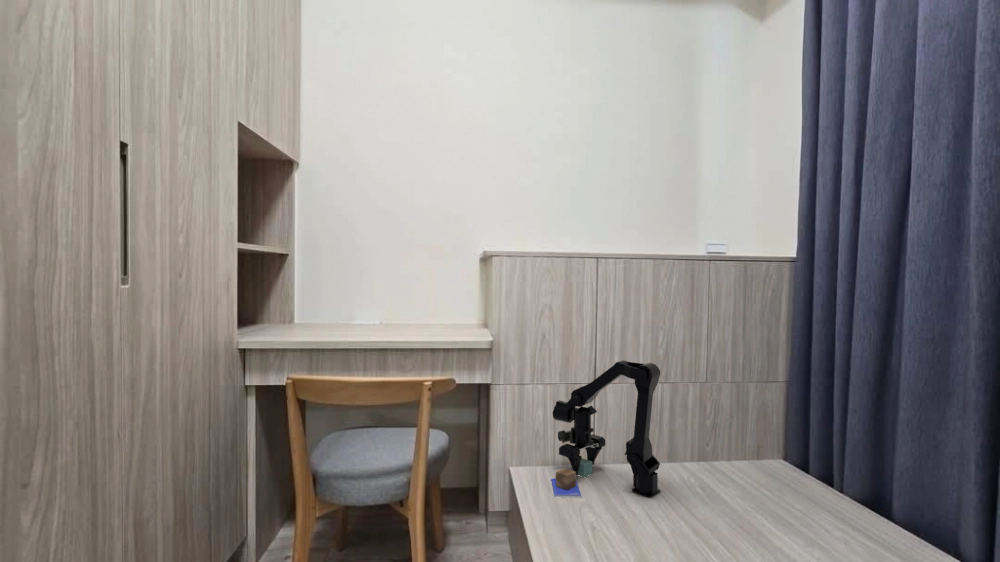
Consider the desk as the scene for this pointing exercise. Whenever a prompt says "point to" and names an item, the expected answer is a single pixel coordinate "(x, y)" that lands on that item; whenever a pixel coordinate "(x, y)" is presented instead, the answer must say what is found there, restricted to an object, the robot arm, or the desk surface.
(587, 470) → the teal cube
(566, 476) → the walnut cube
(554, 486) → the hard drive
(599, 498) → the desk surface
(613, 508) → the desk surface
